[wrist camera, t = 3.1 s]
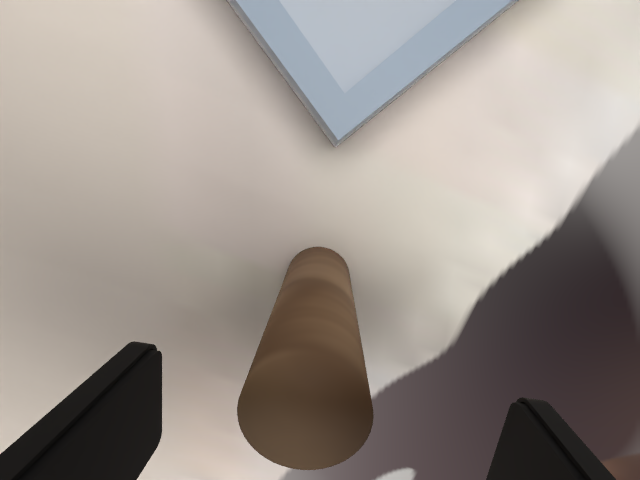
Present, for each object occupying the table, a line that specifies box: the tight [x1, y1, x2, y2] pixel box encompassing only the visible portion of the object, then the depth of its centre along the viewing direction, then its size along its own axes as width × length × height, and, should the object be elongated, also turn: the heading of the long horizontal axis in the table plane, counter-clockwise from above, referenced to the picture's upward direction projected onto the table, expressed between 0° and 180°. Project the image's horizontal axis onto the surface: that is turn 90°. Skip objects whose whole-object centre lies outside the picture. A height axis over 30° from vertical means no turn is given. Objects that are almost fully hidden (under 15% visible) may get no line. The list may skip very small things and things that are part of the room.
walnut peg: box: [237, 247, 373, 470], centre depth 13 cm, size 4×4×10 cm
